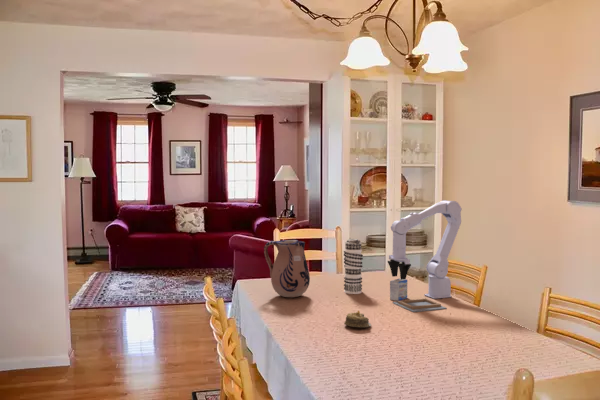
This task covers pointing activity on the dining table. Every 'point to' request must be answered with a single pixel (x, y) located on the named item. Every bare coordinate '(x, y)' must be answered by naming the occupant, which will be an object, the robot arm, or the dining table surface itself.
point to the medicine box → (398, 289)
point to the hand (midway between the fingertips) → (398, 277)
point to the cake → (357, 320)
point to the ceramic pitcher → (288, 268)
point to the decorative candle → (353, 266)
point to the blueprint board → (419, 305)
